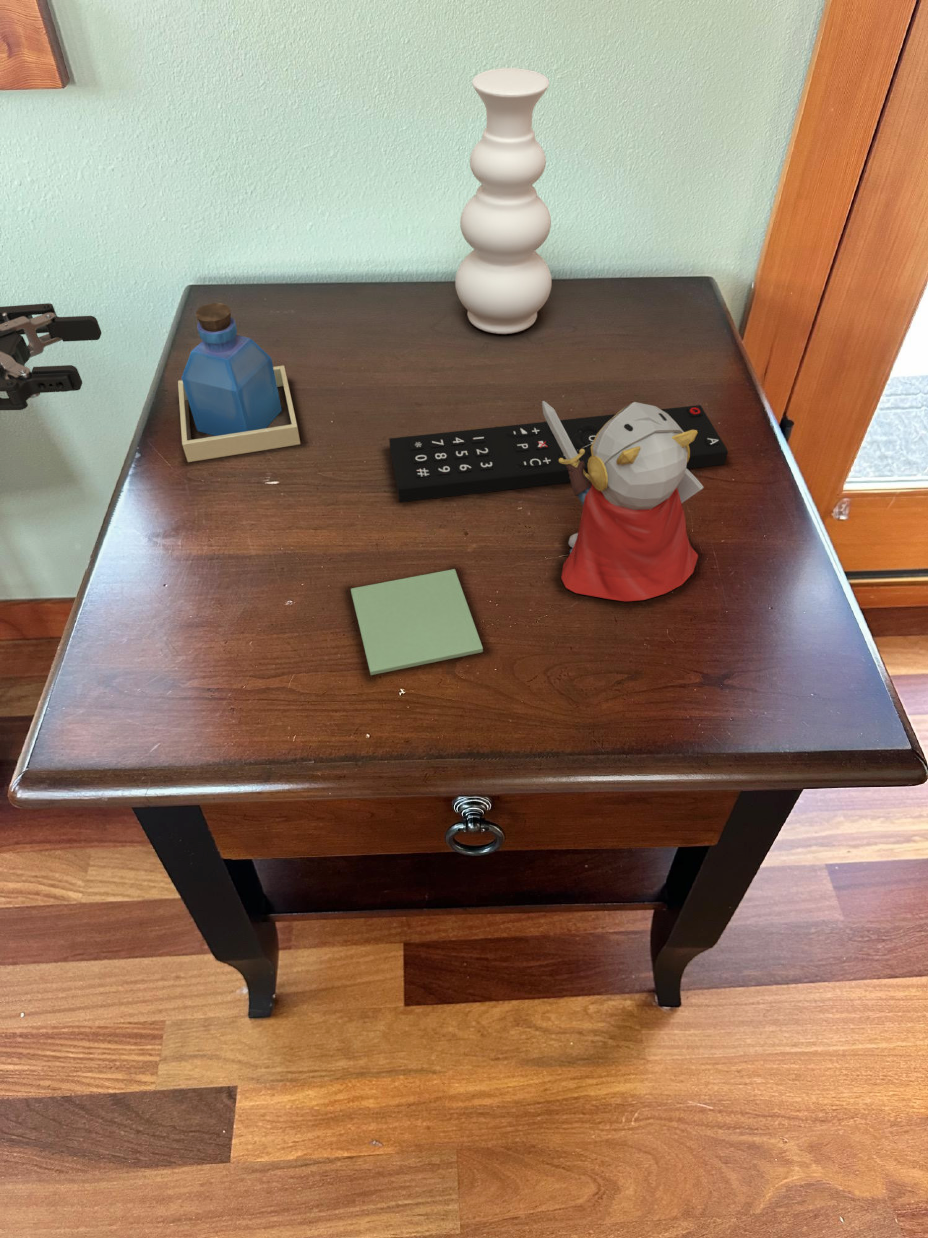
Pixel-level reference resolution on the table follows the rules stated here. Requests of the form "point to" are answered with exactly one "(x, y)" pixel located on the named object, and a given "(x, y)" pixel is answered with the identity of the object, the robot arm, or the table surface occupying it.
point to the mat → (414, 621)
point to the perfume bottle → (229, 377)
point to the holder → (241, 440)
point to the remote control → (518, 455)
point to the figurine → (630, 506)
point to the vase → (506, 208)
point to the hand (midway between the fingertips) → (89, 351)
